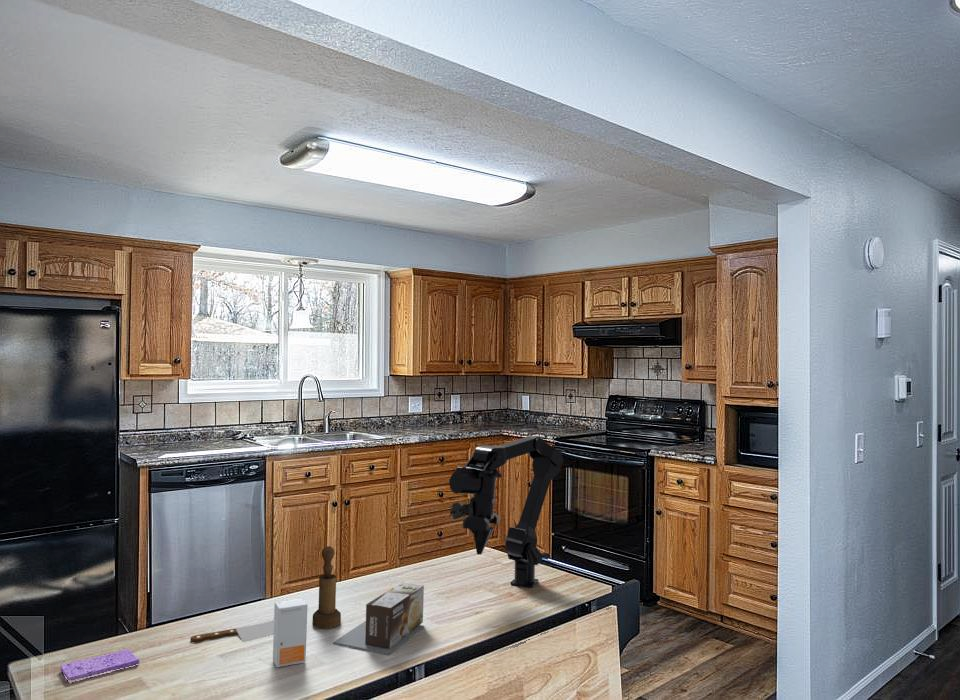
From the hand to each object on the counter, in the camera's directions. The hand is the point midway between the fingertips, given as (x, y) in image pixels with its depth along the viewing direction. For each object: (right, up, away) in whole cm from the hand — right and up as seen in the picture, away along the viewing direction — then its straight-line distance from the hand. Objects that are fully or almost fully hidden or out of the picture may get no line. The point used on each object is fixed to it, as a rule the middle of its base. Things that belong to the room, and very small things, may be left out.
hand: (479, 554), depth 178 cm
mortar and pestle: (-36, -11, -18) cm, 42 cm away
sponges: (-76, -10, -43) cm, 88 cm away
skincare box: (-39, -11, -39) cm, 56 cm away
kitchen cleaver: (-52, -11, -25) cm, 59 cm away
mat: (-22, -11, -25) cm, 35 cm away
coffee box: (-16, -6, -17) cm, 24 cm away
